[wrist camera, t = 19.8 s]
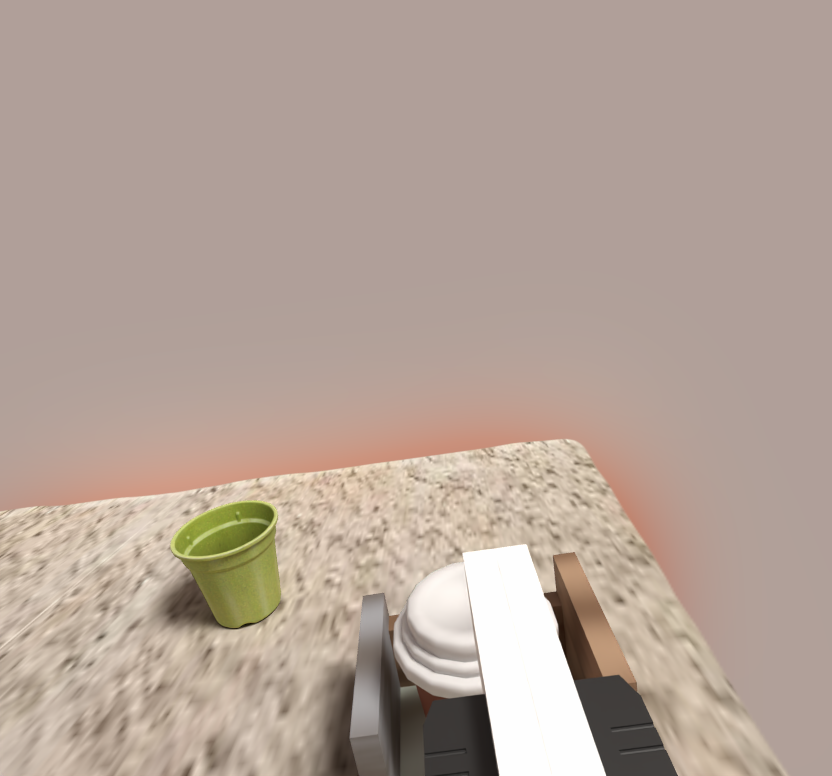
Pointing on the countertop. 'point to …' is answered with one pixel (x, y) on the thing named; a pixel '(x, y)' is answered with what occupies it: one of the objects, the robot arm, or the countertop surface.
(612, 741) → the robot arm
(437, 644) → the coffee cup
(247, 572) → the plant pot
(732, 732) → the countertop surface
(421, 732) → the shelf
